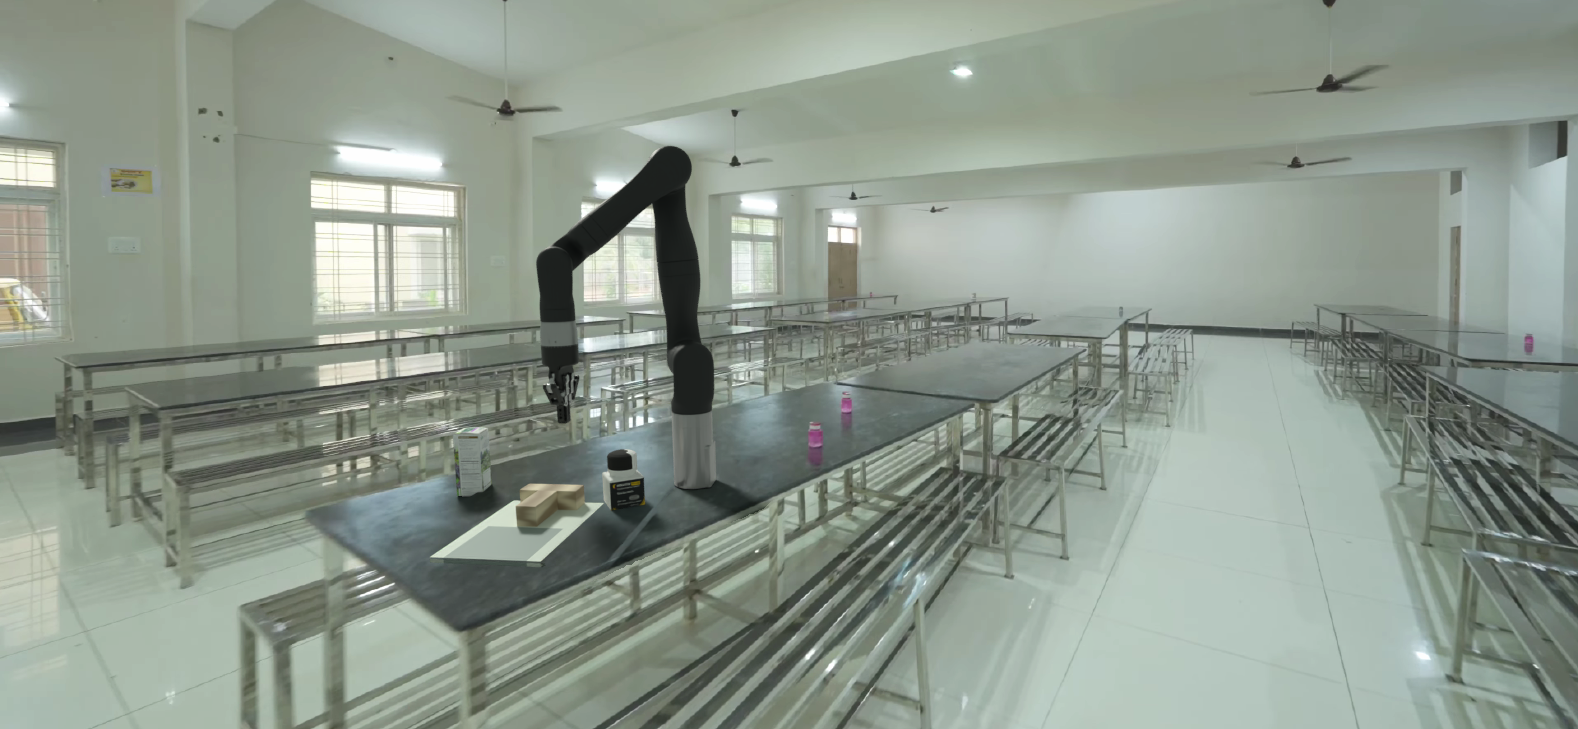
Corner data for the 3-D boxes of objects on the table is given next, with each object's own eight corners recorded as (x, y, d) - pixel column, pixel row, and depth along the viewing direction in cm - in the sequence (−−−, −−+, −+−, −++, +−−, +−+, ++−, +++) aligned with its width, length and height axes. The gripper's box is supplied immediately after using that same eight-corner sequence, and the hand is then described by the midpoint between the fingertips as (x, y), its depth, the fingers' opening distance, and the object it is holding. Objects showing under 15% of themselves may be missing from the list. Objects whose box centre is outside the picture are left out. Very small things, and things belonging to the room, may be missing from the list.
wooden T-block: (584, 503, 139) (583, 485, 139) (556, 527, 127) (555, 507, 126) (530, 501, 141) (529, 483, 140) (497, 525, 128) (495, 505, 127)
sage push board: (604, 507, 140) (604, 503, 139) (541, 567, 112) (540, 561, 112) (514, 504, 142) (513, 500, 142) (430, 562, 114) (429, 557, 114)
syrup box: (466, 488, 153) (461, 427, 151) (493, 487, 153) (488, 426, 151) (456, 497, 147) (451, 433, 145) (484, 496, 148) (479, 432, 145)
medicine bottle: (611, 515, 135) (608, 458, 134) (603, 504, 142) (600, 449, 140) (645, 509, 139) (643, 453, 137) (636, 498, 145) (634, 445, 143)
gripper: (562, 346, 134) (567, 430, 136) (589, 339, 147) (593, 415, 149) (526, 346, 134) (532, 429, 137) (556, 339, 148) (561, 415, 150)
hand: (564, 422), depth 143 cm, fingers closed
